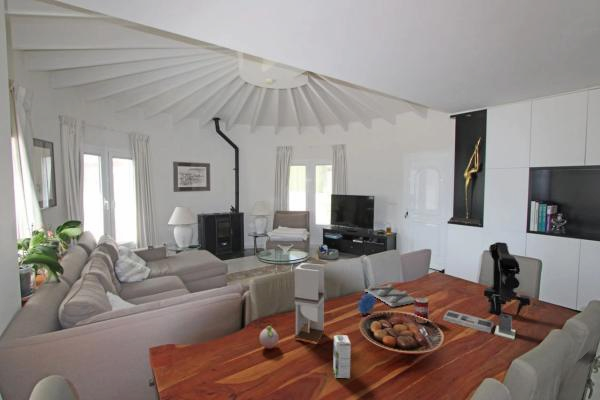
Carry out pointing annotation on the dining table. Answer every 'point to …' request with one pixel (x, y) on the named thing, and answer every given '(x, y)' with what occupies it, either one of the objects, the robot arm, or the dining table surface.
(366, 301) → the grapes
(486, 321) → the rail plate
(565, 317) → the dining table surface
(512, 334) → the sage pad
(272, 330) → the decorative fruit
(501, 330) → the steel block
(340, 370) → the syrup box
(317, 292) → the white dispenser tower
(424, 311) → the soda can
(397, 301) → the grey ridged tray
